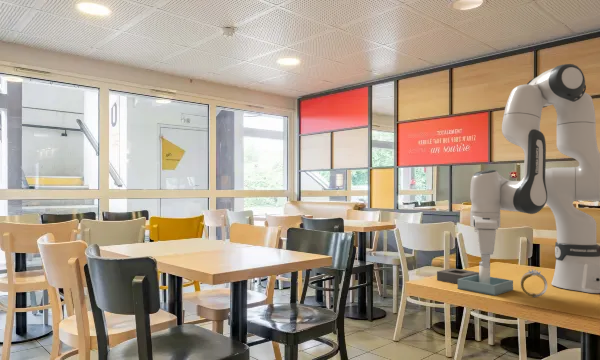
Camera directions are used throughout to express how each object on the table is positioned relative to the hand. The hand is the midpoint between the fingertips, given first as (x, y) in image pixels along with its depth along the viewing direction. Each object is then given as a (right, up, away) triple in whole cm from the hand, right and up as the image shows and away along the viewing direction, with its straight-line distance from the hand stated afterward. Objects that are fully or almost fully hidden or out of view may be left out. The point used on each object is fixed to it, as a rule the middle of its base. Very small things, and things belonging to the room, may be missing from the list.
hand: (485, 265), depth 141 cm
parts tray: (0, -8, 0) cm, 8 cm away
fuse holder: (-4, -8, +13) cm, 16 cm away
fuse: (0, -7, 0) cm, 7 cm away
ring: (+10, -8, -10) cm, 16 cm away
